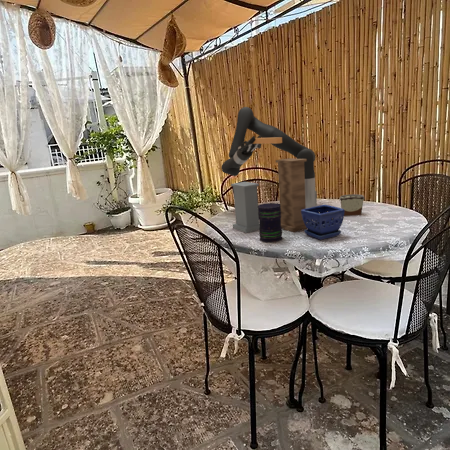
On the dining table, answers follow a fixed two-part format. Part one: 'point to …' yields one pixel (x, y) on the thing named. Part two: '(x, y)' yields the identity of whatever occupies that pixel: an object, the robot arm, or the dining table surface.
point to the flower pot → (323, 221)
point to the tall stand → (292, 193)
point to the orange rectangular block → (268, 140)
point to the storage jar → (270, 222)
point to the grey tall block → (246, 206)
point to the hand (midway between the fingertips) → (257, 137)
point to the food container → (352, 204)
